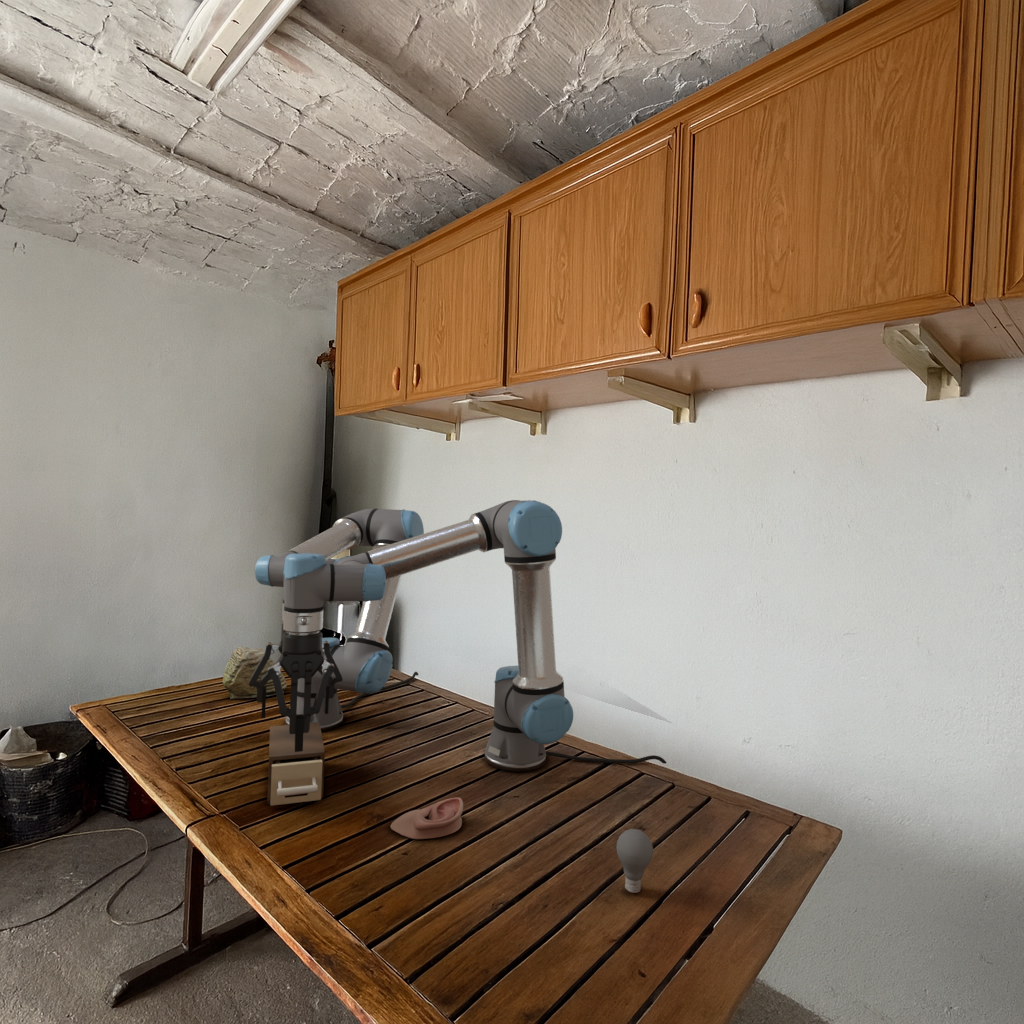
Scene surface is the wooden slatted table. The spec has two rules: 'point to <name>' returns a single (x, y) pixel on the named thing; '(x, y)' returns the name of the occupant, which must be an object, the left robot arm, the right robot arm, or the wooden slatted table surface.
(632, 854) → the light bulb
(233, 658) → the fossil
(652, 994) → the wooden slatted table surface
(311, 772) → the drawer
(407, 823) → the anatomical model
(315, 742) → the tall brown box
